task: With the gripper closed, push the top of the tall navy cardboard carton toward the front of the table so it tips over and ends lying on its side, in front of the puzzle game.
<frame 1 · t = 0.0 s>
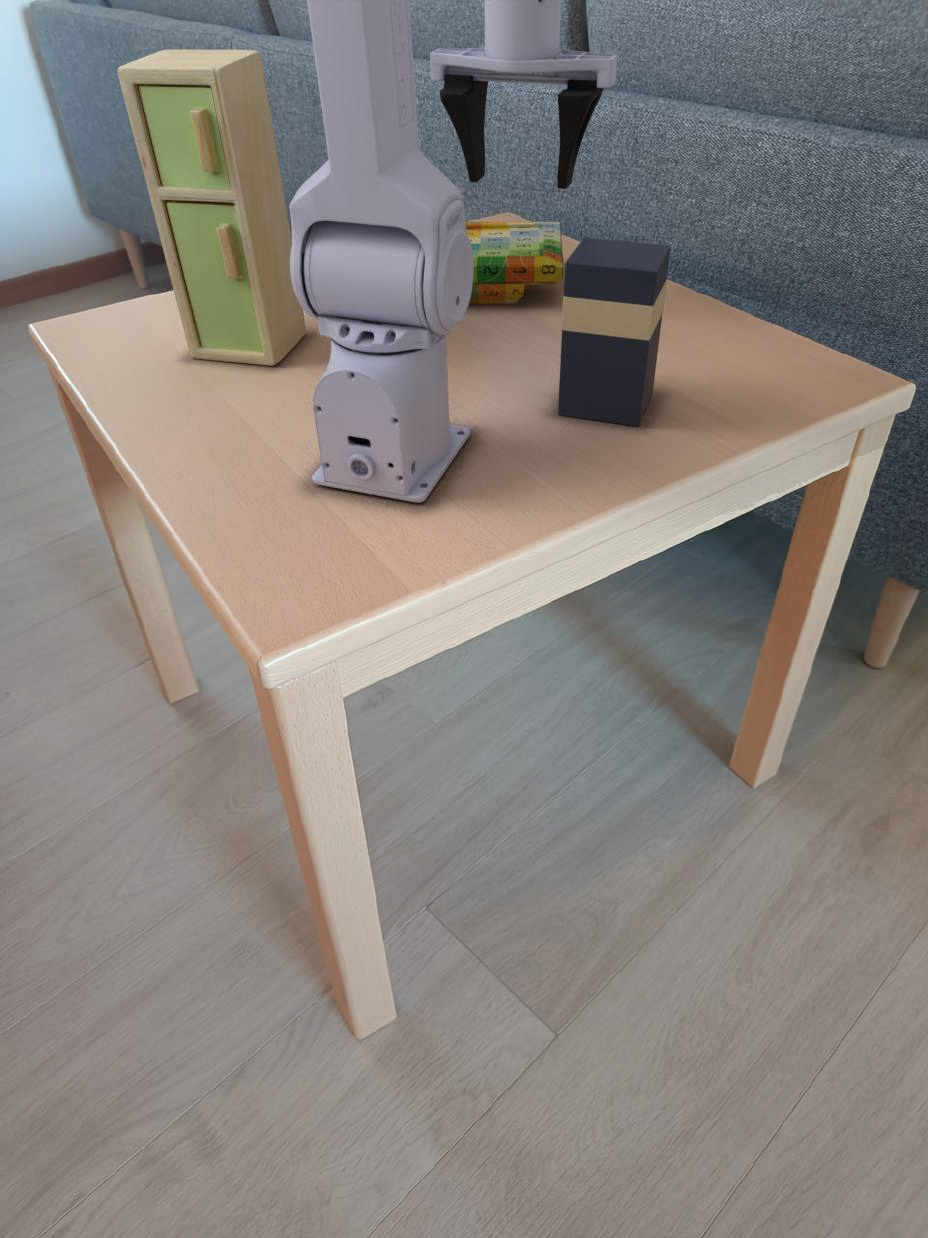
hand: (520, 182, 74), 10 cm above the table, tool pointing down, fingers open, 7 cm apart
puzzle game: (454, 287, 85), on the table
carton: (605, 405, 66), on the table
toy refrigerator: (247, 350, 75), on the table
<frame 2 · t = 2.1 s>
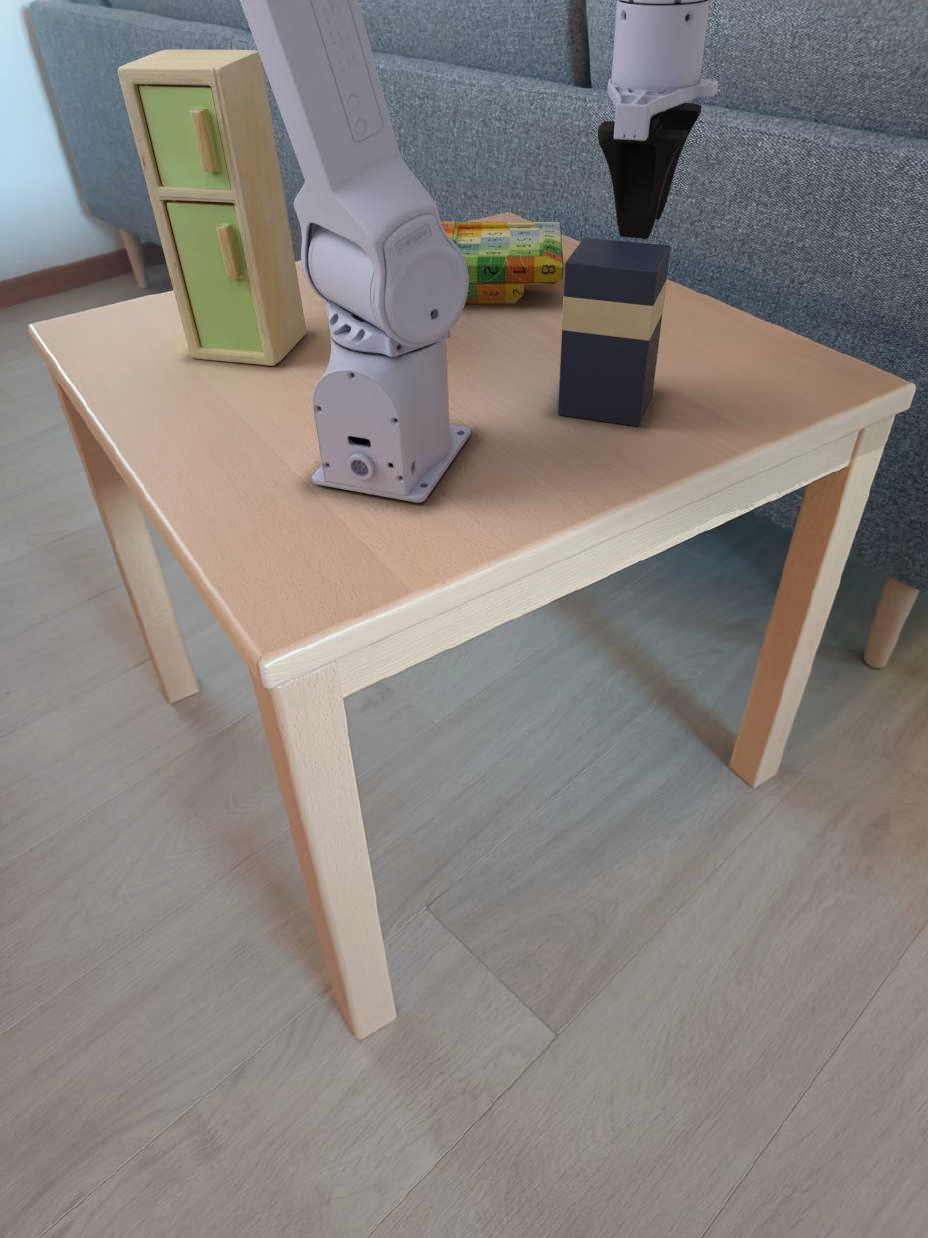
hand: (640, 226, 64), 10 cm above the table, tool pointing down, fingers open, 4 cm apart
nothing on the table moved.
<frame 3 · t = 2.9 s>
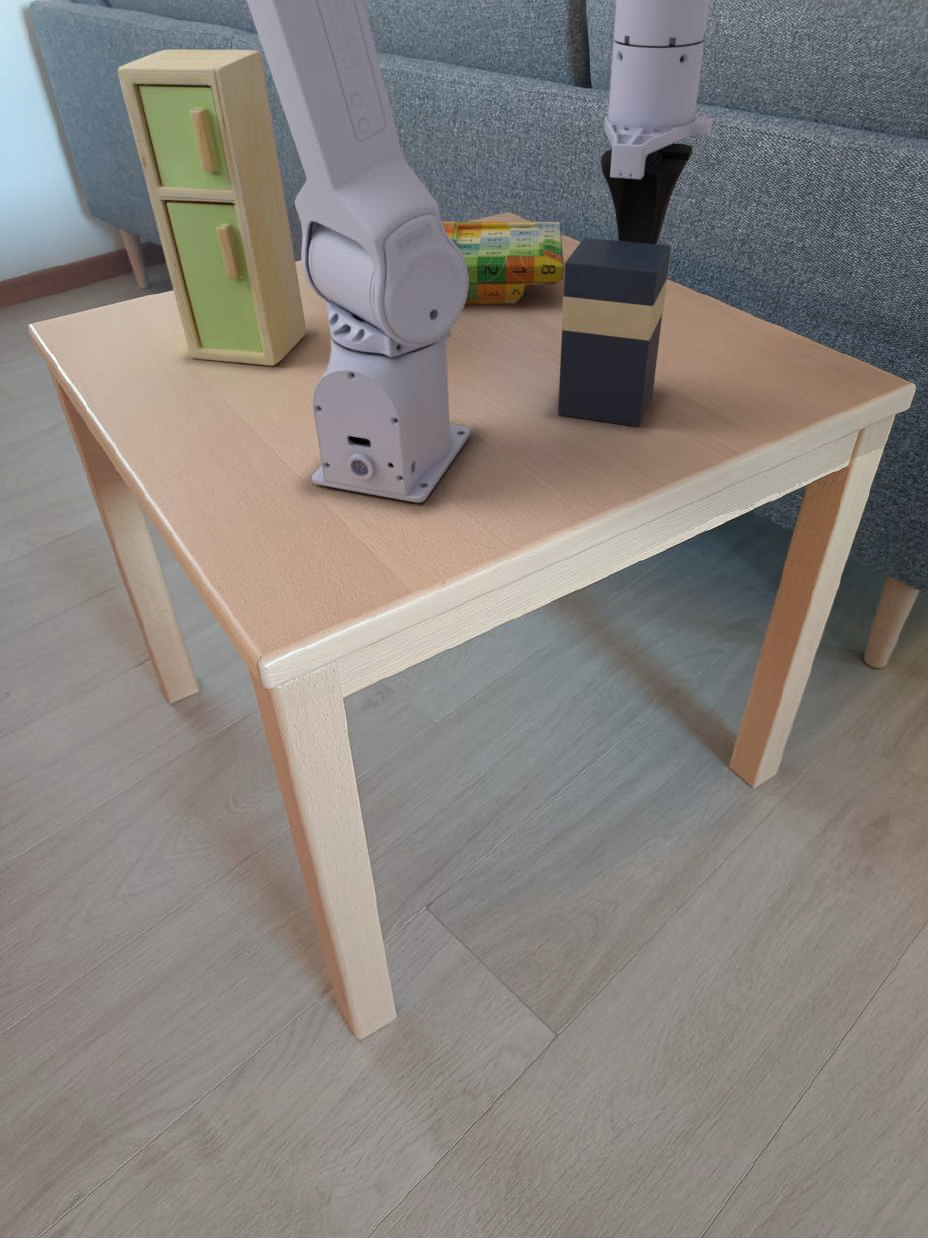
hand: (637, 257, 66), 8 cm above the table, tool pointing down, fingers closed
nothing on the table moved.
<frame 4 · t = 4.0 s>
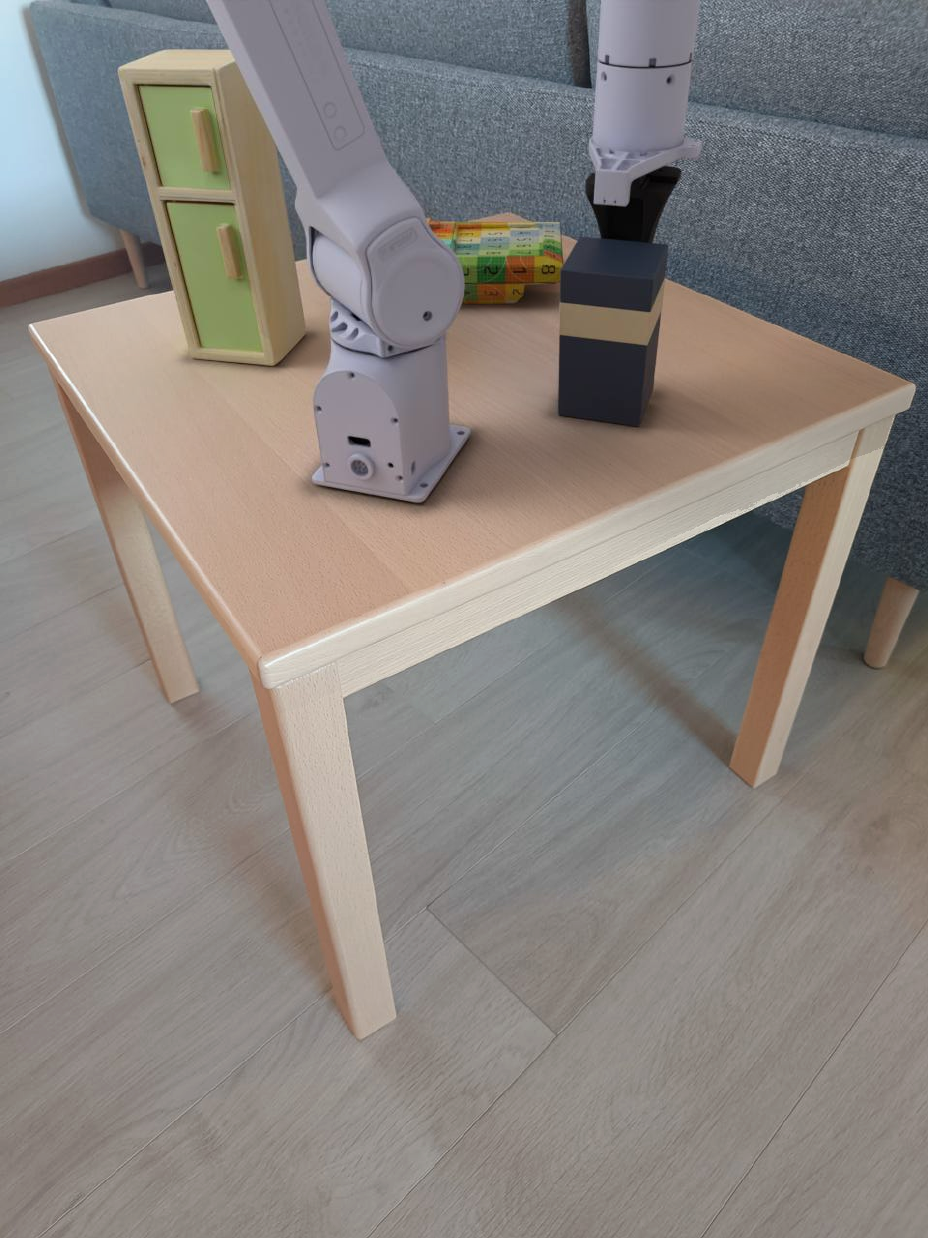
hand: (623, 283, 63), 8 cm above the table, tool pointing down, fingers closed
carton: (605, 402, 66), on the table, tilted 6°, touching gripper
everything else where it was.
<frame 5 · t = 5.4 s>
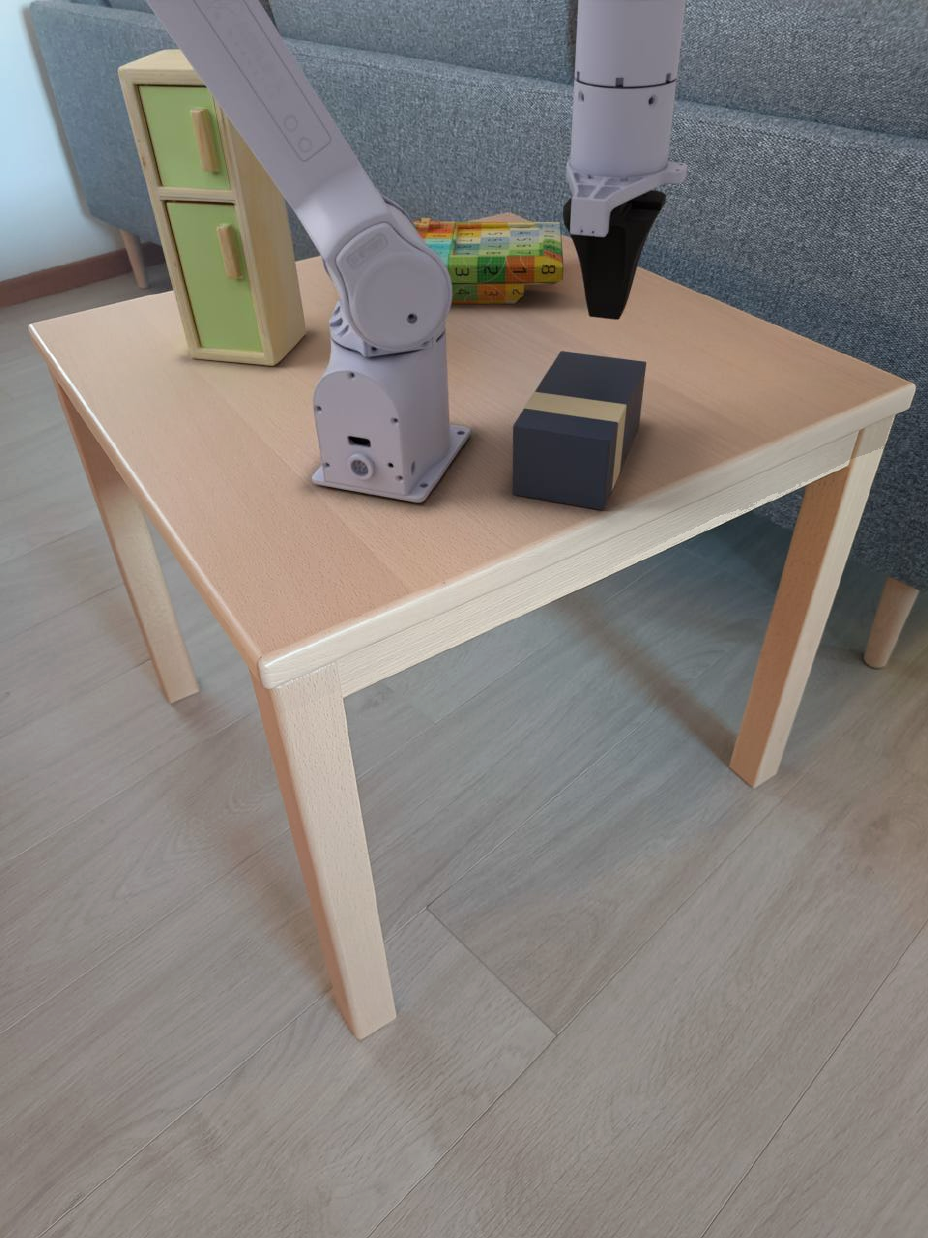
hand: (606, 314, 59), 8 cm above the table, tool pointing down, fingers closed
carton: (600, 389, 63), point 3 cm above the table, tilted 90°
everything else where it was.
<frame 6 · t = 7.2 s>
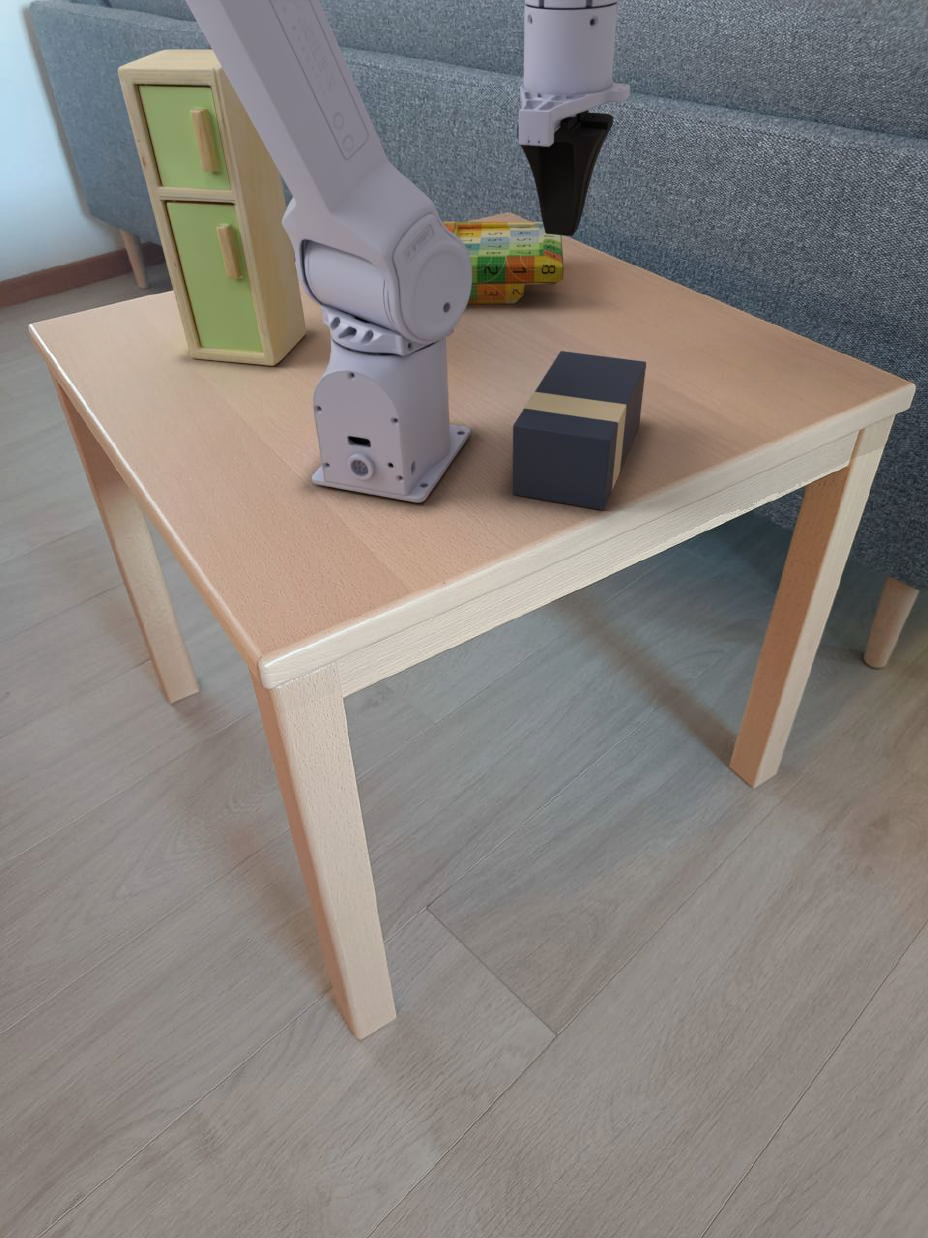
hand: (561, 231, 64), 10 cm above the table, tool pointing down, fingers closed
nothing on the table moved.
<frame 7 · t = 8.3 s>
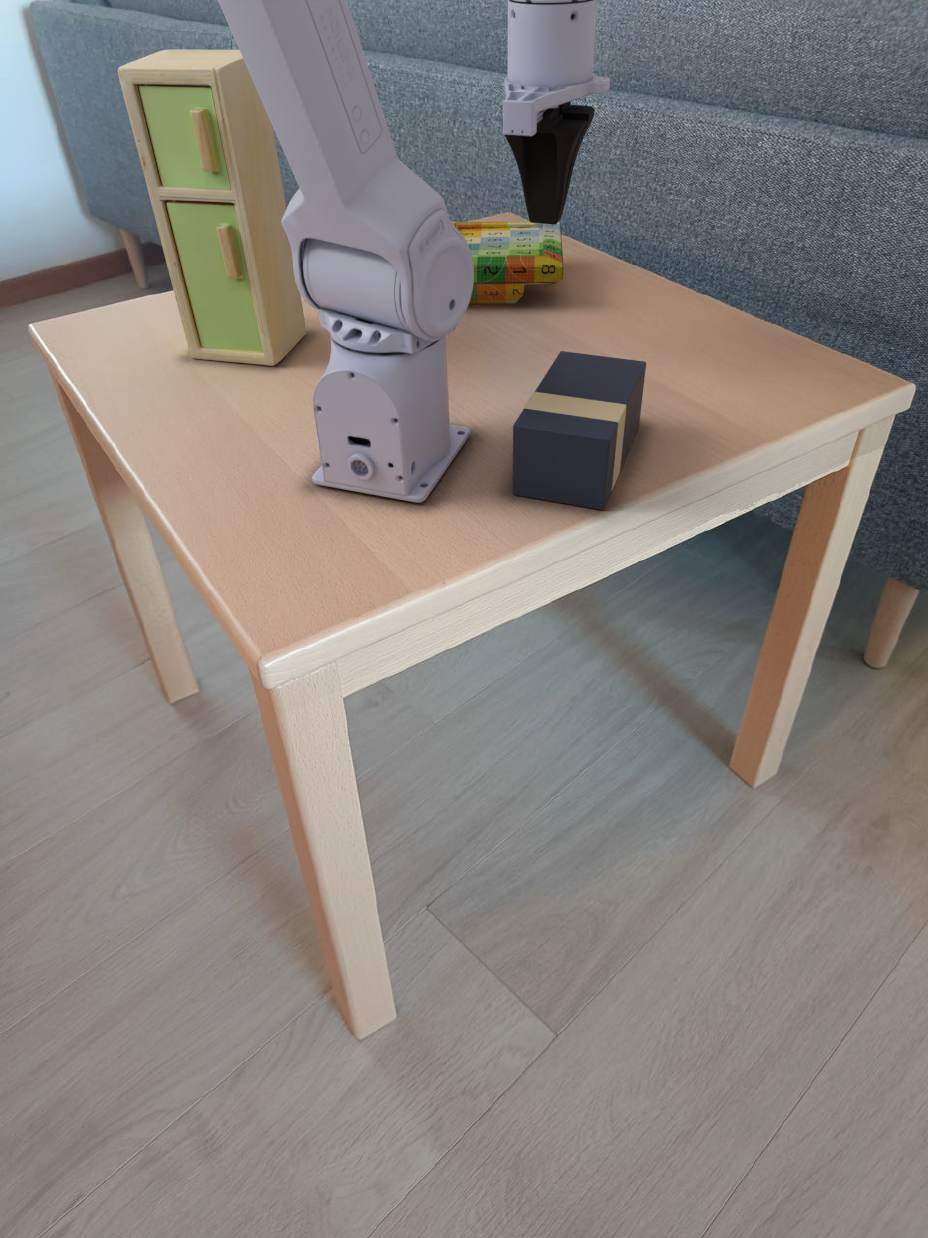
hand: (545, 220, 66), 10 cm above the table, tool pointing down, fingers closed
nothing on the table moved.
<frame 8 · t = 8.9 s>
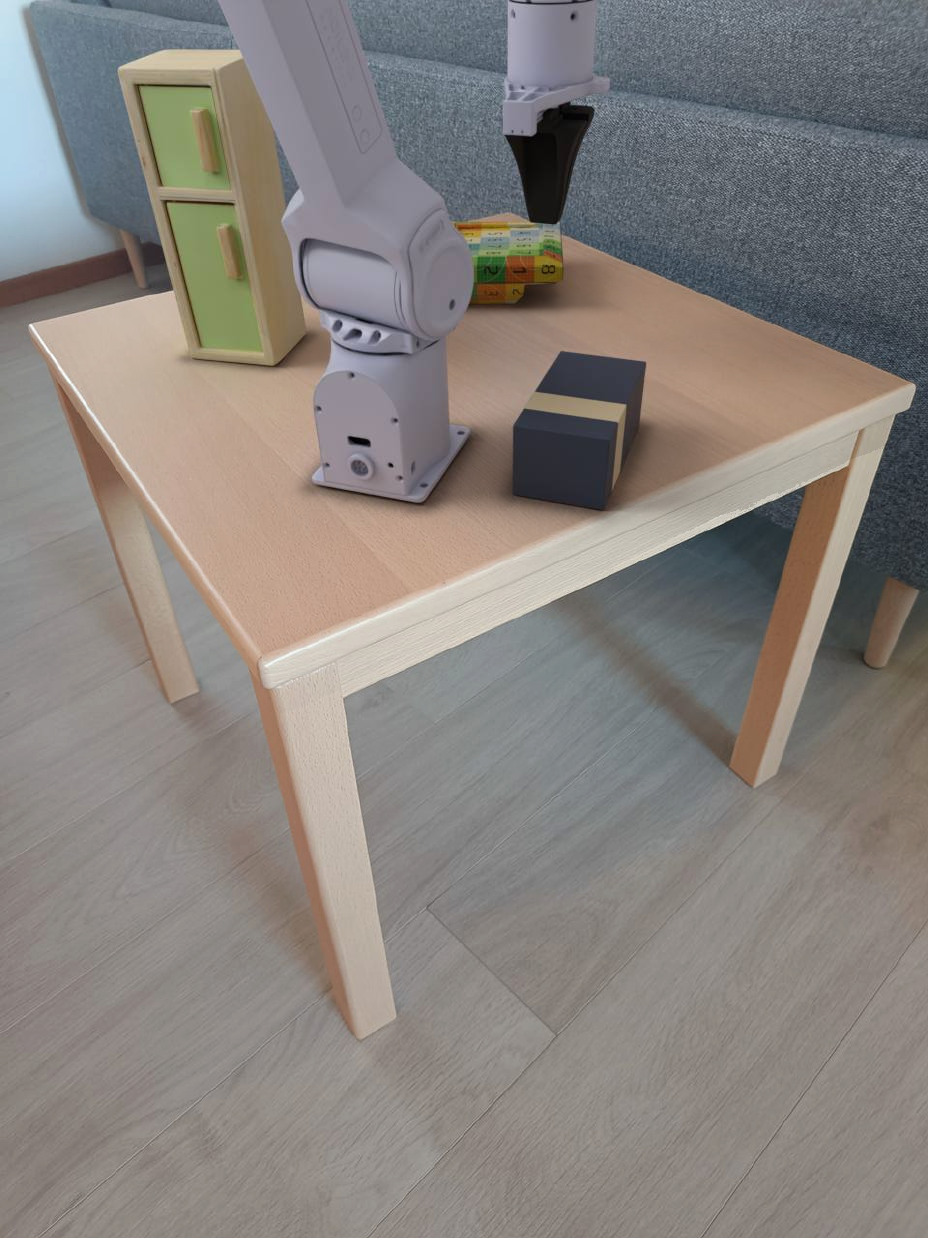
hand: (545, 220, 66), 10 cm above the table, tool pointing down, fingers closed
nothing on the table moved.
at the end: carton tilted 90°; carton point 2.5 cm above the table; carton inside the target area on the table beside the puzzle game (0.0 cm from its centre), point 2.7 cm above the table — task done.
